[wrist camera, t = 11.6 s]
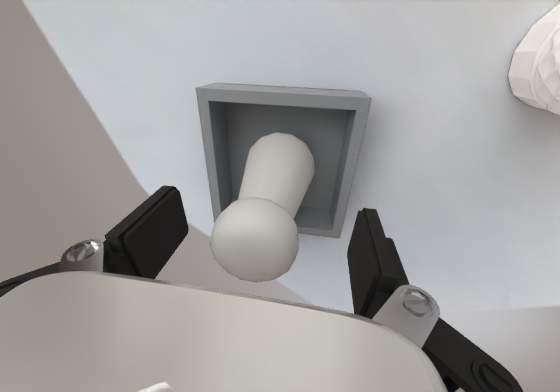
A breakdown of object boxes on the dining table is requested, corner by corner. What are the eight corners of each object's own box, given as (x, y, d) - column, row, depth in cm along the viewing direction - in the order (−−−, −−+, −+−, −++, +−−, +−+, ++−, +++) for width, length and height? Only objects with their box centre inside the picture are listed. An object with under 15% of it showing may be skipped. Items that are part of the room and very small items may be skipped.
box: (361, 91, 18) (371, 98, 15) (336, 213, 24) (339, 238, 21) (216, 83, 19) (195, 87, 16) (228, 201, 26) (214, 223, 22)
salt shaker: (315, 183, 22) (315, 304, 11) (259, 186, 23) (207, 299, 12) (312, 122, 19) (308, 204, 8) (248, 128, 20) (168, 208, 9)
